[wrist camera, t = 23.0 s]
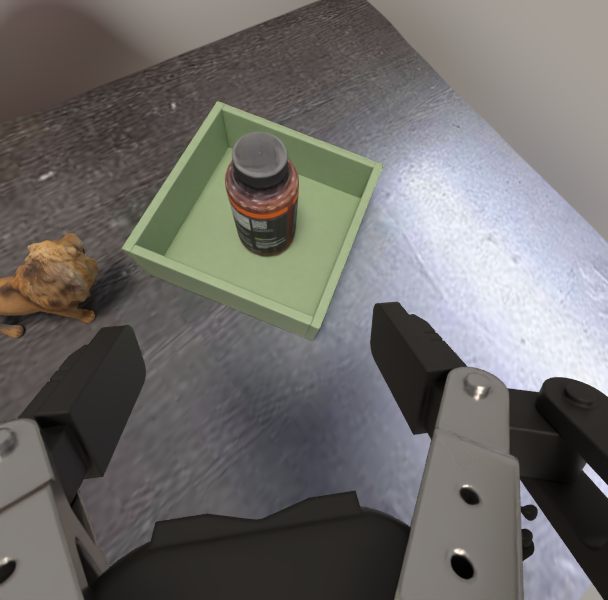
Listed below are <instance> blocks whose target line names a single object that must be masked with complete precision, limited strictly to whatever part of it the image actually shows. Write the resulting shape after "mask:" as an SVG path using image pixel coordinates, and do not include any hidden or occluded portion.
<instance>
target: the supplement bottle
mask: <svg viewBox="0 0 608 600" xmlns="http://www.w3.org/2000/svg"><path fill="white" fill-rule="evenodd" d="M225 186H226V191H227V195H228V199H229V202H230V206H231V210H232V214H233V217H234V221H235V225H236V229H237V233H238V236H239V238H240V240H241V242H242V244H243V245H244V246H245V247H246V248H247V249H248V250H249V251H251V252H252V253H255V254H258V255H262V256H271V255H276V254H279V253H281V252H282V251H284V250H285V249H286V248H288V247H289V245H290V244H291V243H292V241H293V239H294V235H295V230H296V218H297V207H298V195H299V176H298V172H297V170H296V167H295V166H294V164H293V163H292V161H291V160H290V159H289V158H288V153H287V149H286V147H285V145H284V143H283V142H282V141H281V140H280V139H279V138H278V137H276V136H275V135H273V134H270V133H267V132H251V133H248V134H246V135H244V136H242V137H241V138H239V139H238V140H237V142H236V143H235V144H234V146H233V149H232V161H231V162H230V164H229V165H228V168H227V170H226V174H225Z"/></svg>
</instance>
